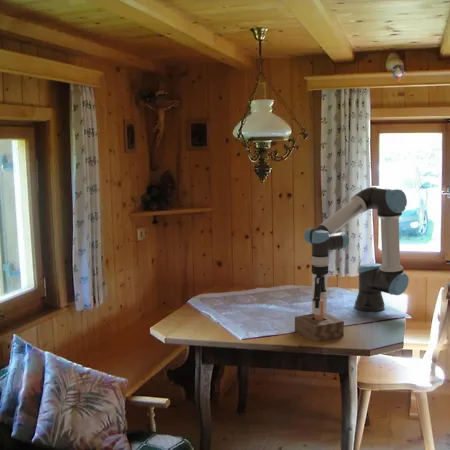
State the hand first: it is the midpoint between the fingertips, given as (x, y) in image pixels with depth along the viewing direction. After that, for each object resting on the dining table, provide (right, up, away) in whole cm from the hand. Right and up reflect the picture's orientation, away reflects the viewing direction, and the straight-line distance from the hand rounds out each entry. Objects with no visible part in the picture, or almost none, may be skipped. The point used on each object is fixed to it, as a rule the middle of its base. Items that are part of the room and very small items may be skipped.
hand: (319, 310), depth 291 cm
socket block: (0, -11, +2) cm, 11 cm away
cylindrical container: (+3, -8, +19) cm, 21 cm away
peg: (0, -11, +2) cm, 11 cm away
